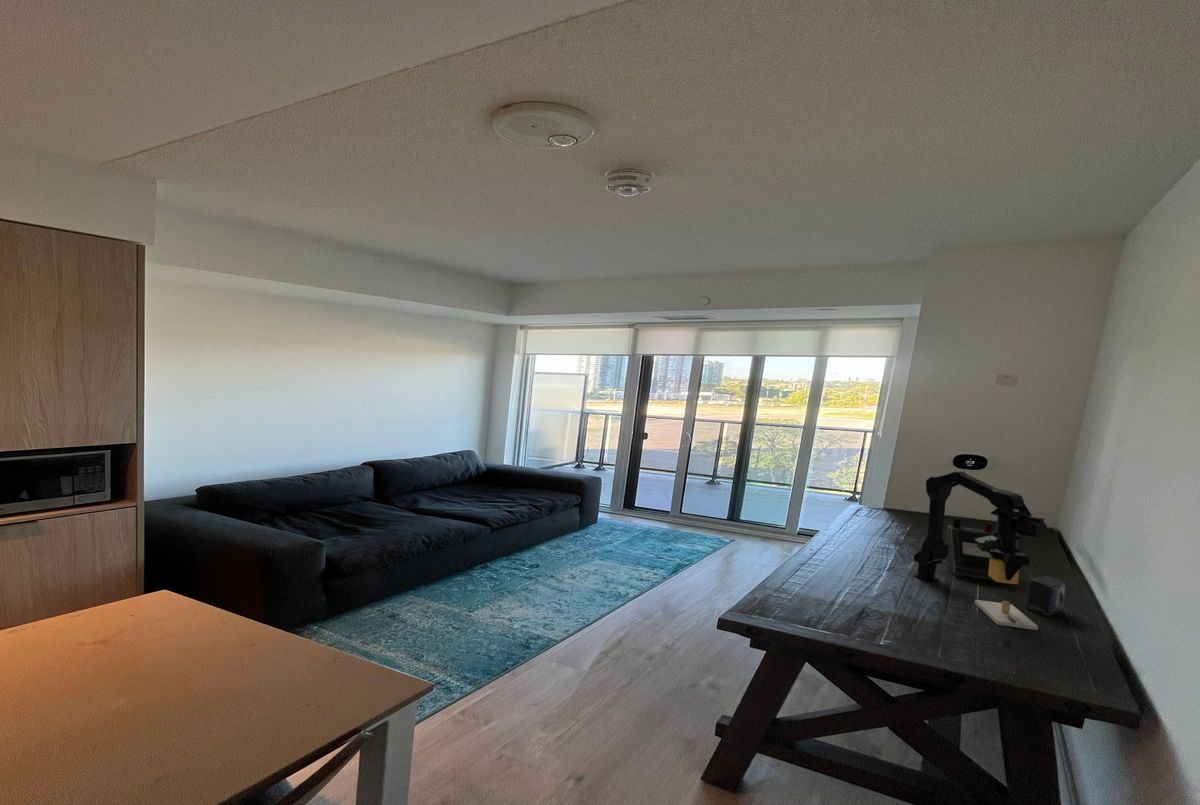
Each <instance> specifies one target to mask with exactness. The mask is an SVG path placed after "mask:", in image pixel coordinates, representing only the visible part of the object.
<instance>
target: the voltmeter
mask: <svg viewBox="0 0 1200 805" xmlns="http://www.w3.org/2000/svg"><path fill="white" fill-rule="evenodd" d="M961 521H962V519H961V518H960V517H954V518H953V522H952V525H949V524H948V525H947V533H946V543H945V544H948V545H949V548H948V554H949V555H947V557H946V559H944V561H945V563H946V564H947V565H948V567H949V568H950V570H951V572H953V574H955V576H956V575H957V576H956V577H958V576H962V577H963V576H967V577H974V578H982V579H987V580H991V582H992V581H994V582H996V581H995V580H994V579H992V578H991V577H990V576H988V572H989V561H990V558H992V556H991V555H990V554H989V553H988V552H987V551H986V552H983V551H981V550H980V549H978V548H977V545H976V541H975V539H976V538H981V537H986V536H992V532H993V531H994V530H993V525H994V524H993V522H991V521H985V522H984V528H983V529H977V528H972V527H964V526H961V525H962V523H961ZM992 559H993V558H992ZM994 582H993V583H994Z"/></svg>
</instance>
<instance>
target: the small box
mask: <svg viewBox="0 0 1200 805" xmlns="http://www.w3.org/2000/svg"><path fill="white" fill-rule="evenodd" d="M1066 585H1067V582H1065V581H1062V580H1060V579H1056V578H1054V577H1051V576H1048V575H1043V576H1039V577H1034V578H1031V579H1029V586H1028V595H1027V602H1026V607H1025V609H1027V610H1029V611H1032V612H1035V613H1037V614H1040V615H1043V616H1046V617H1048V616H1052V615H1055V614H1058V613H1062V612H1063V609H1064V602H1065V601H1064V600H1065V594H1066V593H1065V592H1066V587H1067V586H1066Z"/></svg>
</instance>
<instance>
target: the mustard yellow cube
mask: <svg viewBox="0 0 1200 805" xmlns="http://www.w3.org/2000/svg"><path fill="white" fill-rule="evenodd" d="M1019 573H1020V569H1019V570H1018V571H1017V573H1016V574H1015V575H1014V576H1013V578H1012V579H1011V580H1010V581H1009V580H1006V576H1005V564H1004V563H1003V562H1002V561H1001V559H992V558H990V561H989V572H988V576H990V577H991V578H992V579H994V580H995V581H996V582H998V583H1003V584H1011V585H1013V584H1014V585H1018V584H1019V576H1020V574H1019Z"/></svg>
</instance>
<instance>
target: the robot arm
mask: <svg viewBox="0 0 1200 805" xmlns="http://www.w3.org/2000/svg"><path fill="white" fill-rule="evenodd" d="M959 485H960V486H962V487H963V488H966V489H968V490H970V491H971V492H973V493H976V494H977V495H979V496H981V497H984V498H985V499H987V500H988V501H989V503H990V504H991V505H993V507H995V509H994V510H993V511H991V512H990V514H991V515H995V516H997V517H996V518H997V519H996V528H995V530H992V531H993V532H992V536H986V537H981V538H976V539H975V541H976V545H977V548H978V549H980V550H981V551H983V552H986V551H987V552H988V553H989V554H990V555H991V556H992V558H993V559H1001V561H1002V562H1003V563H1004V564H1005V576H1006V580H1009V581H1010V580H1011V579H1012V578H1013V576H1014V575H1015V574H1016V573H1017V571H1018V570H1019V571H1020V569H1021V568H1022V567H1023V566H1029V567H1030V566H1031V562H1032V559H1031V558H1030V556H1029V555H1026V554H1025V553H1023V552H1020V548H1018V541H1019V540H1021V536H1024V537H1027V538H1030V539H1031V538H1032V539H1035V540H1038V541H1042V540H1044V539H1045V538H1046V536H1047V535H1048V530H1049V529H1048V526H1047V524H1046V523H1045V518H1043V517H1035V516H1032V513H1031V512H1030V510H1029V509H1028V507H1027V505H1026V503H1025V500H1024V499H1023V496H1022V495H1020V494H1019V493H1015V492H1012V491H1008V490H1005V489H999V488H997V487H995V486H992V485H990V484H988V483H986V482H984V481H982V480H980V479H978V478H975V477H974V476H972V475H970V474H968V473H966V472H965V471H953V472H950V473H948V474H944V475H939V476H931V477H928V478H927V479H926V481H925V490H926V491H925V492H926V494H927V496H928V498H929V511H928V522H927V524H928V525H927V536H926V538H925V539H924V540H923V542H922V544H921V548H920V551H918V552H917V553H915V554H914V555H913V560H914V562H916V563H918V566H917V573H914V574H913V577H915V578H917V579H920V580H923V581H925V582H928V583H931V582H935V581H936V582H937V581H939V580H940V578H939V577H937V576H936V574H937V565H938V564H939V565H941V564H942V563H943V561H945V559H946V557H947V555H949V554H948V548H949V545H948V544H946V543H945V541H944V538H943V537H944V525H945V523H944V522H945V515H946V514H945V512H946V511H945V510H946V501H947V500H948V498H949V497H950V496H951V493H952V489H953V488H955V487H957V486H959Z"/></svg>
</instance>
